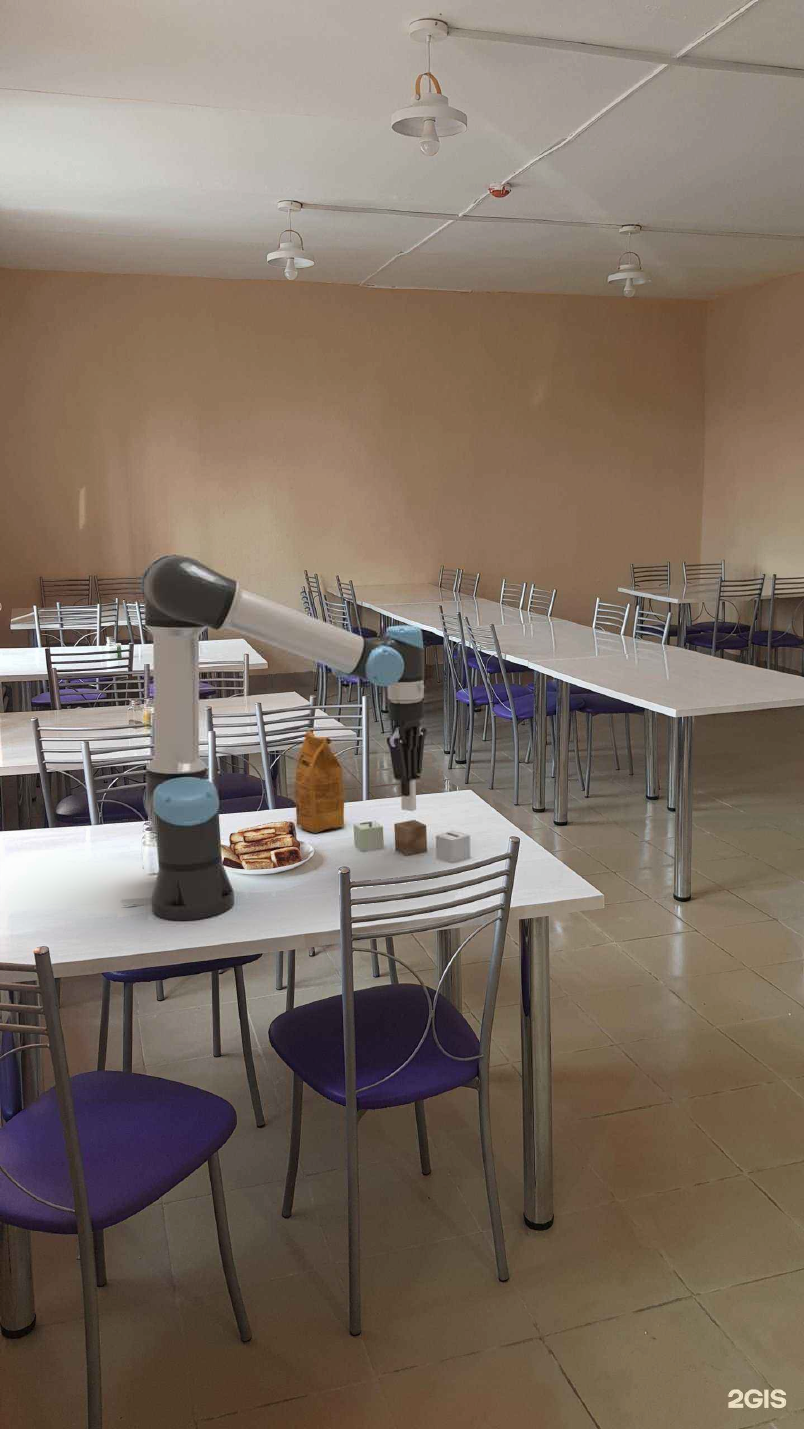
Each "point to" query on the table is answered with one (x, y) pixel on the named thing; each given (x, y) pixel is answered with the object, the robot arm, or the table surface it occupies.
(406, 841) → the plain walnut block
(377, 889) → the table surface
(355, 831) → the sage numbered block
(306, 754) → the coffee package
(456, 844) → the grey numbered block
